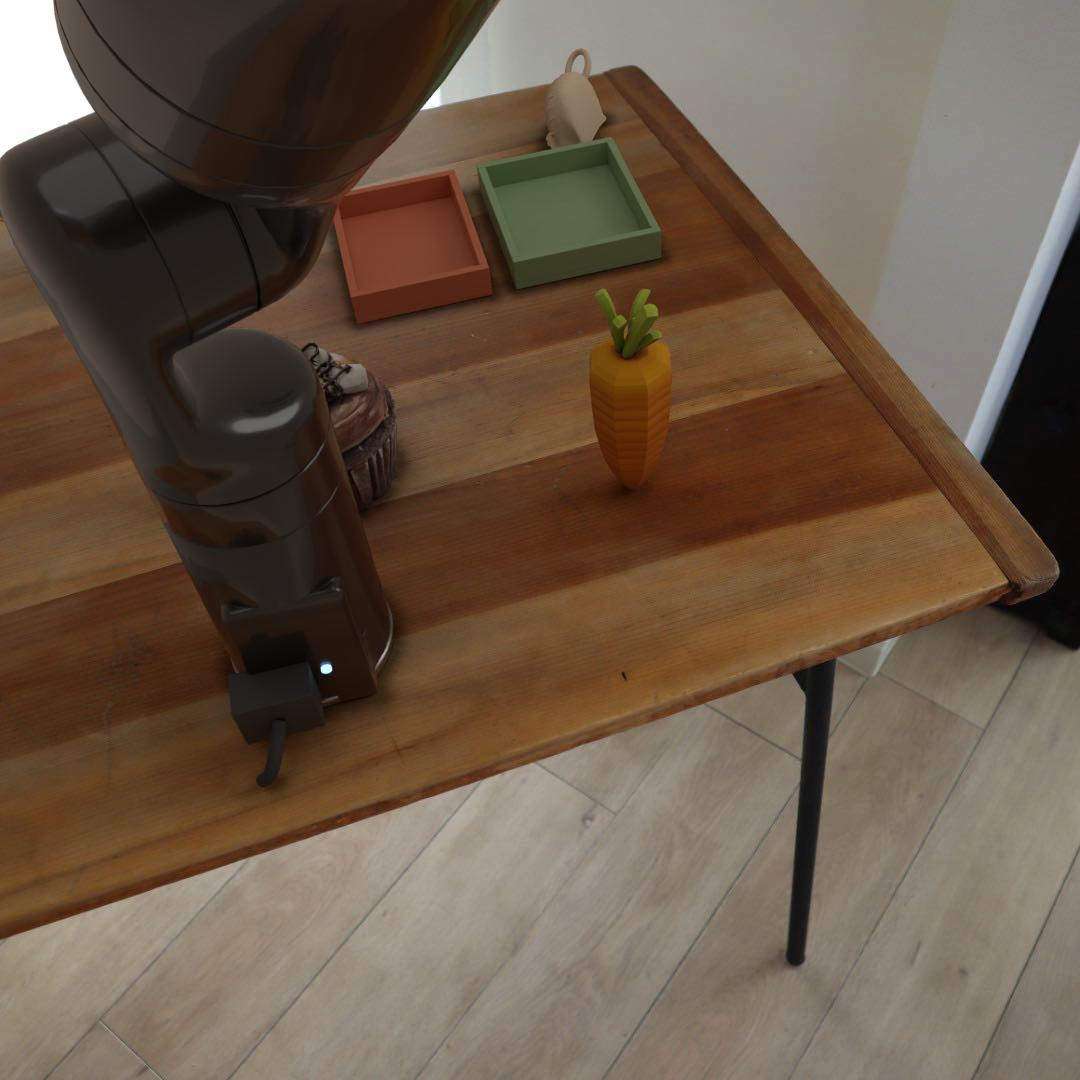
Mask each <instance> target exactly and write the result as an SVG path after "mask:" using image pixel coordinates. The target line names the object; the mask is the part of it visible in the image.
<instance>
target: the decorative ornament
mask: <svg viewBox="0 0 1080 1080" xmlns="http://www.w3.org/2000/svg"><path fill="white" fill-rule="evenodd" d="M579 56H582V57H583V59H584V66H583V70H582V72H581V73H580V72H577V71H572V68H573V65H574V62H575V60H576V59H577V57H579ZM591 72H592V58H591V55H590V53H589V52H588V51H587V49H585V48H583V47H582V48H576V49H574V50H573V51H572V52H571V53H570V55H569V57H568V58H567V60H566V63H565V67H564V73H561V74H560V75H559V76H558V77H557V78H555V79H553V81H552V82H551V85H550V86H549V88H548V90H547V92H546V93H547V94H546V98H545V105H544V118H545V124H546V127H547V131H548V134H547V135H546V137H545V141H546V145H547V147H548V148H550V149H555V148H560V147H565V146H569V145H574V144H579V143H584V142H589V141H594V140H593V139H594V138H595V136H596V134H597V132H598V131H599V129H600V127H601V126H602V125H603V124H604V122H606V121H607V117H606V116H605V114H603V109H602V107H601V104H600V101H599V98H598V96H597V93H596V91H595V89H594V87H593V85H592V83H591V82H590V80H589V78H590V75H591Z"/></svg>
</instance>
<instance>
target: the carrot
mask: <svg viewBox="0 0 1080 1080" xmlns="http://www.w3.org/2000/svg"><path fill="white" fill-rule="evenodd" d="M650 294H651V290H650V289H648V288H642V289H640V290H639V291H638V292H637V295H636V296H635V298H634V300H633V303H632V305H631V309H630V313H629V316H628V320H626V318H625V317H624V316H623V315H622V314H619V315H617V312H616V308H615V305H614V303H613V301H612V299H611V297H610V294H609V293H608V292H607V290H606V288H601V289H599V290H598V291H596V293H595V294H594V297H595V299H596V301H597V303H598V305H599V307H600V309H601V311H602V312H603V315H604V317H605V319H606V322H607V324H608V326H609V331H610V332H609V333H610V335H611V336H609V337H608V338H606V339H605V340H603V341H602V342H601V343H599V344H598V345H597V346H595V347H593V348H592V349H591V350H590V353H589V374H588V375H589V378H588V379H589V384H588V385H589V392H590V404H591V412H592V419H593V426H594V427H593V428H594V431H595V435H596V438H597V442H598V446H599V448H600V451H601V453H602V456H603V458H604V461H605V463H606V465H607V466H608V468H609V470H610V471H611V472H612V474H613V475H614V476H615V477H616V479H618V481H620V482H621V484H623V485H624V486H625V487H626V488H627V489H629V490H630V489H631V490H632V489H638V488H640V486H642V485H644V483H645V482H646V480H647V479H648V478H649V477H650V475H651V474H652V473H653V472H654V470H655V468H656V467H657V465H658V463H659V461H660V459H661V456H662V453H663V450H664V447H665V444H666V440H667V435H668V430H669V428H670V427H669V426H670V416H671V415H670V414H671V406H672V405H671V403H672V402H671V401H672V382H673V380H672V377H673V376H672V361H671V360H672V359H671V352H670V349H669V347H668V346H667V345H666V344H664V343H662V342H661V341H659V340H661V339H662V338H663V334H662V332H661V331H659V330H652V331H650V329H652V326H653V325H654V324H655V322H656V321H657V320H658V318H659V308H657V306H656V304H652V303H647V304H646V302H647V300H648V297H649V296H650ZM626 327H627V332H625V330H626ZM649 331H650V332H649Z"/></svg>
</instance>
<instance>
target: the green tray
mask: <svg viewBox="0 0 1080 1080" xmlns="http://www.w3.org/2000/svg"><path fill="white" fill-rule="evenodd" d="M626 163H627V162H626V161H625V159H624V157H623V156H622V154H621V152H620V150H619V148H618V146H617V144H616V143H615V140H614V139H613V137H612V136H609V137H604V138H599V139H594V140H592V141H589V142H584V143H579V144H574V145H569V146H565V147H560V148H555V149H551V148H549V149H546V150H540V151H537V152H531V153H527V154H522V155H516V156H512V157H507V158H502V159H497V160H493V161H492V160H491V161H488V162H483V163H478V164H477V163H476V171H477V180H478V187H479V193H480V195H481V198H482V200H483V204H484V206H485V208H486V211H487V214H488V216H489V220H490V222H491V225H492V228H493V230H494V233H495V236H496V238H497V241H498V243H499V246H500V249H501V252H502V254H503V257H504V260H505V262H506V266H507V268H508V271H509V273H510V276H511V279H512V281H513V284H514V287H515V289H516V290H521V289H525V288H530V287H534V286H538V285H543V284H549V283H552V282H558V281H562V280H566V279H571V278H576V277H580V276H584V275H590V274H594V273H598V272H603V271H607V270H613V269H616V268H617V269H618V268H621V267H627V266H631V265H635V264H640V263H645V262H649V261H654V260H658V259H661V258H662V230H661V228H660V226H659V224H658V222H657V220H656V218H655V216H654V215H653V213H652V210H651V209H650V207H649V205H648V203H647V201H646V200H645V198H644V196H643V193H642V191H641V190H640V188H639V186H638V184H637V182H636V181H635V179H634V176H633V175H632V173H631V171H630V168H629V167H628V165H627V164H626Z"/></svg>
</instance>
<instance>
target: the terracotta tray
mask: <svg viewBox="0 0 1080 1080" xmlns="http://www.w3.org/2000/svg"><path fill="white" fill-rule="evenodd" d="M333 225H334V229H335V234H336V237H337V243H338V247H339V252H340V256H341V262H342V265H343V269H344V274H345V278H346V283H347V287H348V293H349V296H350V301H351V305H352V309H353V312H354V316H355V321H356V323H357V324H358V325H359V324H365V323H367V322H368V323H369V322H373V321H377V320H382V319H387V318H391V317H397V316H401V315H406V314H410V313H414V312H419V311H423V310H429V309H433V308H437V307H442V306H447V305H451V304H456V303H460V302H464V301H470V300H473V299H474V300H475V299H480V298H484V297H488V296H493V286H492V279H491V271H490V266H489V263H488V260H487V258H486V255H485V252H484V250H483V246H482V244H481V241H480V237H479V235H478V233H477V230H476V227H475V223H474V221H473V219H472V216H471V213H470V210H469V207H468V204H467V201H466V199H465V196H464V193H463V190H462V186H461V184H460V182H459V178H458V176H457V174H456V170H455V169H449V170H444V171H439V172H434V173H430V174H425V175H420V176H415V177H411V178H410V177H409V178H405V179H401V180H396V181H391V182H387V183H382V184H377V185H371V186H367V187H362V188H357V189H352V190H351V191H350V192H348V193H347V194H346V195H345V196H344V197H343V198H342V200H341V202H340V205H339V207H338V209H337V212H336V214H335V217H334V220H333Z"/></svg>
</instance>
